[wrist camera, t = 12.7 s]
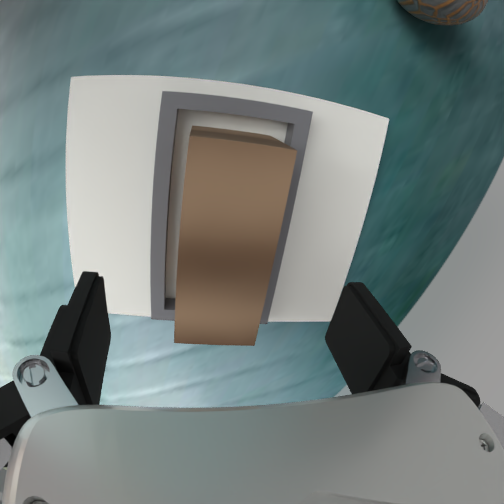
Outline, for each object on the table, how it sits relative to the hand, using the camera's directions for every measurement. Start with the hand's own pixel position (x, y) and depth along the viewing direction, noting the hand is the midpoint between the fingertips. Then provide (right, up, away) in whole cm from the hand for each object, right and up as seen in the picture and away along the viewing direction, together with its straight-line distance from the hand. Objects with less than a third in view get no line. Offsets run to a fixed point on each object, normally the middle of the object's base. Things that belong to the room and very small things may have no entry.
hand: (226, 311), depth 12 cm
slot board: (-1, +5, +11) cm, 12 cm away
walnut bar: (-1, +5, +10) cm, 11 cm away
